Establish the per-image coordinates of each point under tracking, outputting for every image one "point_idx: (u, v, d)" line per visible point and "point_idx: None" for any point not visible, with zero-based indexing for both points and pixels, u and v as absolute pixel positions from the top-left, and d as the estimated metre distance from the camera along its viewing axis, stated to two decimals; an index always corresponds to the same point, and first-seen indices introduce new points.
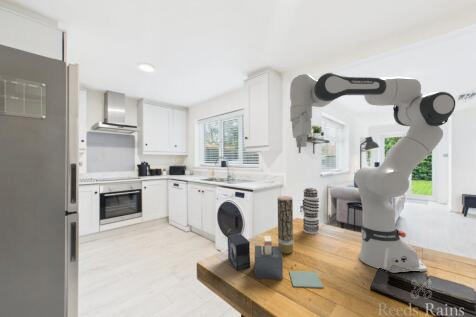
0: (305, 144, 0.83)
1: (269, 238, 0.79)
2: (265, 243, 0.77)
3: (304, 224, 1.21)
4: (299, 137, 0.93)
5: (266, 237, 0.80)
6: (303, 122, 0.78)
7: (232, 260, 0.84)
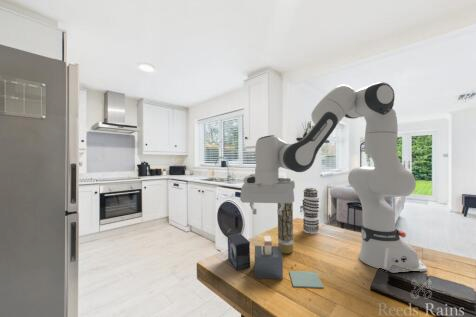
0: None
1: (269, 238, 0.79)
2: (265, 243, 0.77)
3: (304, 224, 1.21)
4: None
5: (266, 237, 0.80)
6: None
7: (232, 260, 0.84)
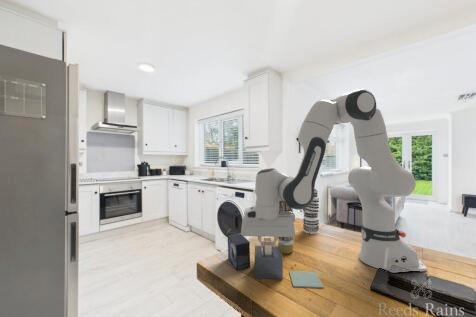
0: (274, 244, 0.80)
1: (269, 238, 0.79)
2: (265, 243, 0.77)
3: (304, 224, 1.21)
4: None
5: (266, 237, 0.80)
6: (293, 225, 0.77)
7: (232, 260, 0.84)
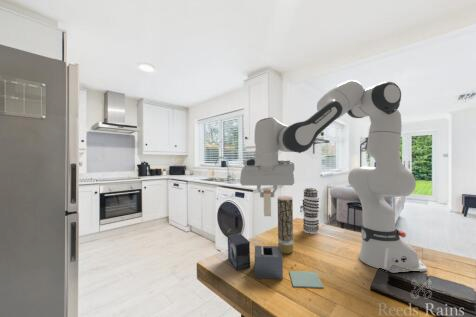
0: None
1: (268, 188, 0.79)
2: (264, 191, 0.77)
3: (304, 224, 1.21)
4: None
5: (265, 187, 0.80)
6: None
7: (232, 260, 0.84)
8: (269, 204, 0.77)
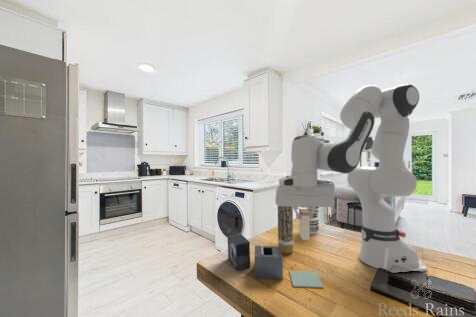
0: None
1: (306, 209, 0.74)
2: (303, 213, 0.71)
3: None
4: None
5: (302, 208, 0.75)
6: None
7: (232, 260, 0.84)
8: (308, 227, 0.71)
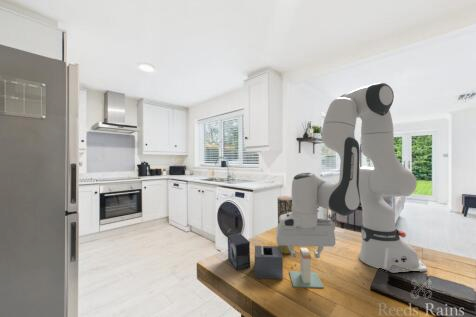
0: None
1: (307, 251, 0.74)
2: (304, 256, 0.72)
3: None
4: None
5: (303, 249, 0.75)
6: None
7: (232, 260, 0.84)
8: (309, 270, 0.72)
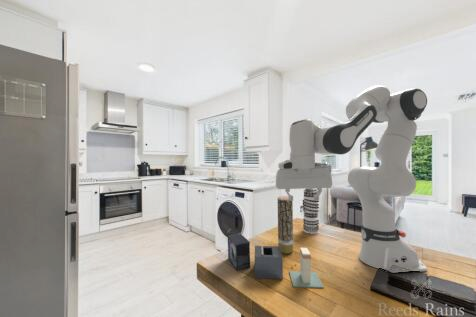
0: None
1: (307, 251, 0.74)
2: (304, 256, 0.72)
3: (304, 224, 1.21)
4: None
5: (303, 249, 0.75)
6: None
7: (232, 260, 0.84)
8: (309, 270, 0.72)
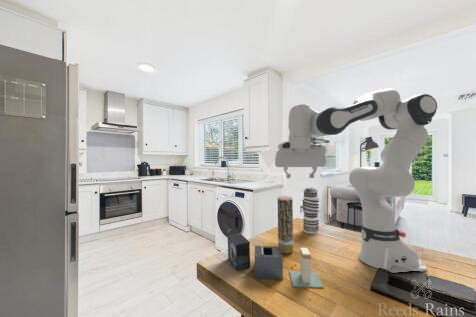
0: None
1: (307, 251, 0.74)
2: (304, 256, 0.72)
3: (304, 224, 1.21)
4: None
5: (303, 249, 0.75)
6: None
7: (232, 260, 0.84)
8: (309, 270, 0.72)
